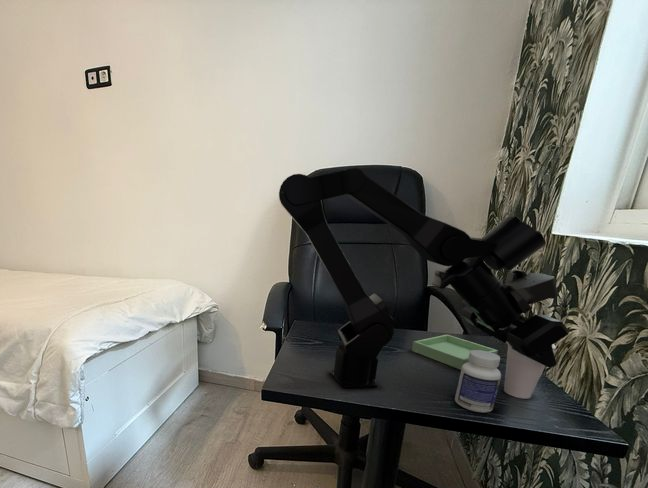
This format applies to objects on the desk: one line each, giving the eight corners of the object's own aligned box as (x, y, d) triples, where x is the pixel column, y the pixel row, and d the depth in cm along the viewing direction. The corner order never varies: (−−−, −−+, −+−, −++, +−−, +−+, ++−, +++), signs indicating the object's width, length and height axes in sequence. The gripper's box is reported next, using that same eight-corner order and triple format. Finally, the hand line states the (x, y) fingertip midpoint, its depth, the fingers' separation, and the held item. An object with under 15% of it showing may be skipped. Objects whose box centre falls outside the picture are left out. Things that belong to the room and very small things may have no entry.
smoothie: (550, 403, 59) (575, 323, 55) (512, 402, 59) (534, 322, 55) (521, 385, 65) (541, 312, 62) (486, 384, 66) (504, 311, 62)
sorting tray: (461, 370, 71) (463, 359, 71) (411, 350, 81) (413, 341, 80) (495, 360, 77) (498, 350, 76) (445, 343, 86) (447, 334, 86)
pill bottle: (499, 415, 55) (513, 362, 53) (462, 411, 56) (474, 359, 54) (483, 398, 60) (495, 350, 58) (449, 395, 61) (459, 347, 59)
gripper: (573, 264, 47) (639, 347, 49) (493, 250, 65) (543, 311, 67) (495, 317, 51) (559, 393, 52) (439, 290, 68) (488, 347, 70)
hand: (536, 356), depth 60 cm, fingers open, 7 cm apart
